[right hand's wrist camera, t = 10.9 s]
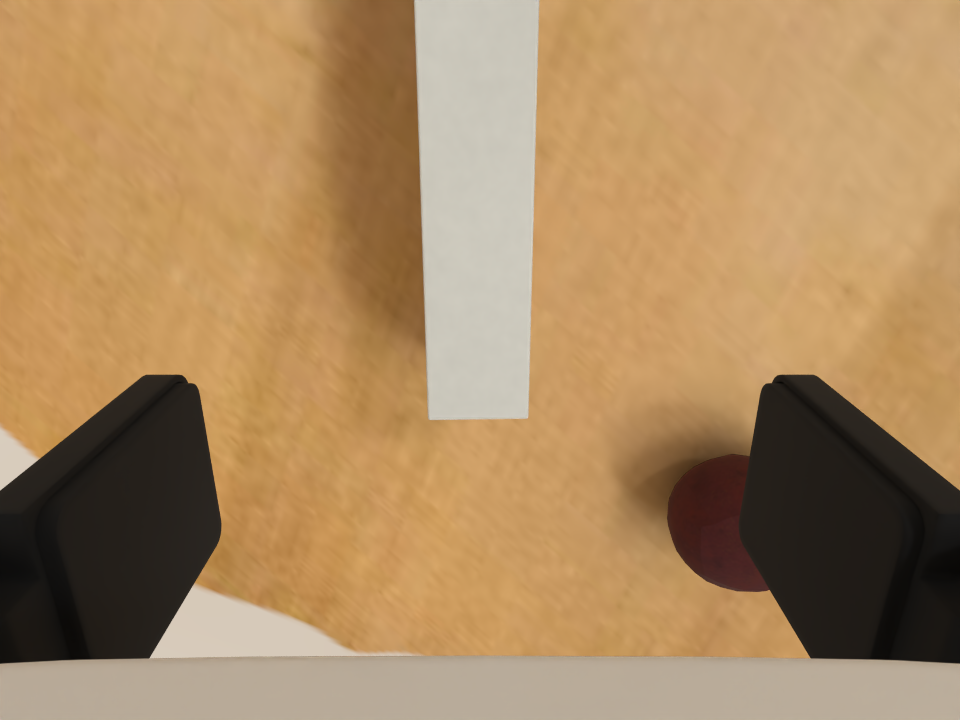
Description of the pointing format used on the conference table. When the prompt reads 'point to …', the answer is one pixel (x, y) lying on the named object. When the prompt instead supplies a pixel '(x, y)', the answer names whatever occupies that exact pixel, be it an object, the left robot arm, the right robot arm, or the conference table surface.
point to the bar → (477, 201)
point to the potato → (714, 523)
